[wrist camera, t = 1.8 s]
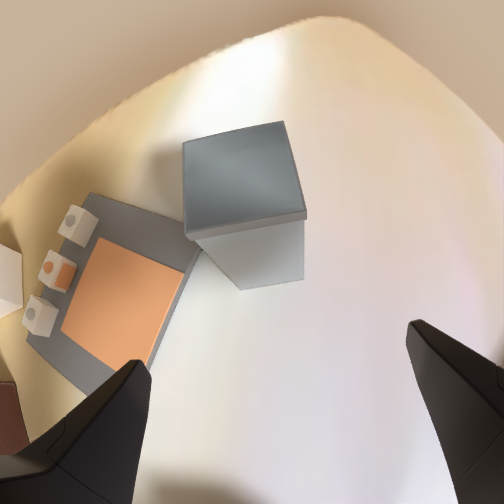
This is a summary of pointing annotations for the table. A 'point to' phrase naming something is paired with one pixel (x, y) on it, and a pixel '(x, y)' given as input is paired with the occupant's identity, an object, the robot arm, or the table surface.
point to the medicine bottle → (10, 281)
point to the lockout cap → (246, 204)
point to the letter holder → (11, 421)
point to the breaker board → (108, 290)
